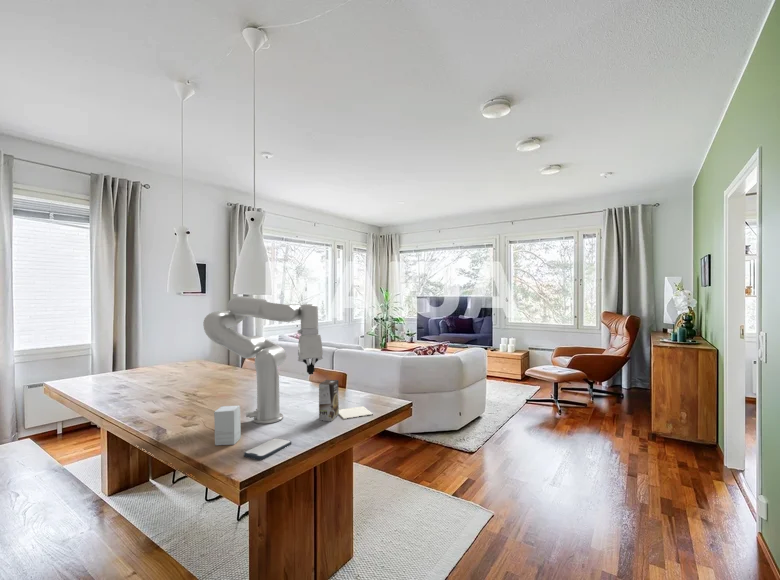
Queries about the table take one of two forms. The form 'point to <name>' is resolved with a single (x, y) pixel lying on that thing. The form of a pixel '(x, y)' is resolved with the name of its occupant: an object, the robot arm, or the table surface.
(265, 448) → the phone case
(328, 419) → the coffee box
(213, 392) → the table surface
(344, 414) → the cream mat
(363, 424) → the table surface
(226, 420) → the supplement box
